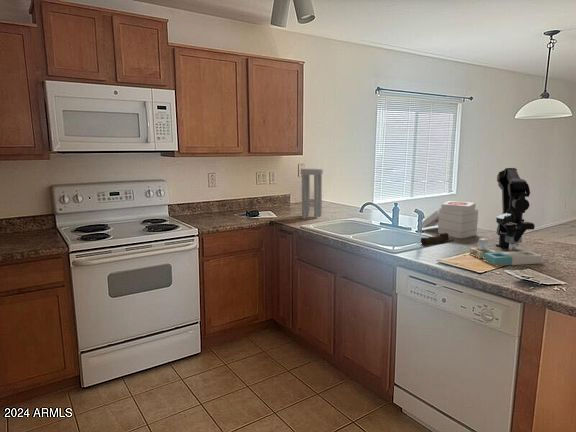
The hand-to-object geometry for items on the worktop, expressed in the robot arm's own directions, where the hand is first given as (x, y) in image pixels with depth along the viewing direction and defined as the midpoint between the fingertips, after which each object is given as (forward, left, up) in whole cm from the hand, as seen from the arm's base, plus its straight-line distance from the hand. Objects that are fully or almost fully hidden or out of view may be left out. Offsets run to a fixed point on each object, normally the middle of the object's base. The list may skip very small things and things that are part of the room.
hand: (513, 240), depth 189 cm
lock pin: (0, -15, -7) cm, 16 cm away
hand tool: (-28, -24, -7) cm, 37 cm away
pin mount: (0, -15, -7) cm, 16 cm away
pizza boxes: (-49, -5, -7) cm, 49 cm away
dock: (+11, -7, -7) cm, 15 cm away
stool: (-115, -74, -7) cm, 137 cm away
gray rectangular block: (0, 0, -5) cm, 5 cm away
